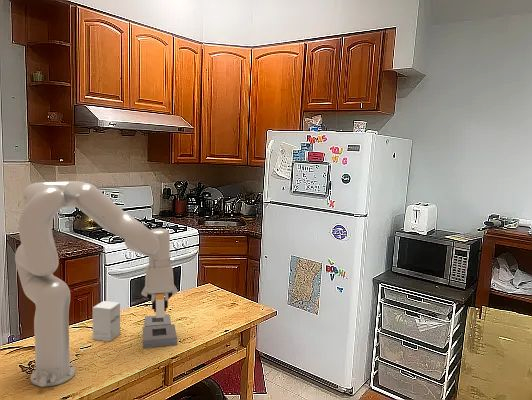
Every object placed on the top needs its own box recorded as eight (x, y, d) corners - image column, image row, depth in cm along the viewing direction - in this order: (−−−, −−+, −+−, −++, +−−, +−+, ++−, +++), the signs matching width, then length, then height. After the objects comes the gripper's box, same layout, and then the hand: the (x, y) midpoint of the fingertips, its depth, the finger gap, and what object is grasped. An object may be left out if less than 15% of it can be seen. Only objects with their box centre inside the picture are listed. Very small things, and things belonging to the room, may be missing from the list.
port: (176, 345, 159) (176, 337, 159) (142, 348, 156) (142, 340, 155) (174, 331, 170) (174, 324, 170) (142, 334, 167) (142, 326, 167)
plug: (164, 317, 161) (164, 293, 159) (156, 318, 160) (155, 294, 159) (163, 313, 164) (163, 290, 163) (155, 313, 164) (155, 290, 162)
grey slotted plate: (171, 328, 173) (171, 323, 173) (145, 330, 170) (145, 326, 170) (169, 318, 183) (169, 314, 182) (144, 320, 180) (144, 316, 179)
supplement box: (110, 341, 160) (109, 309, 159) (92, 339, 162) (91, 306, 160) (121, 333, 167) (120, 302, 166) (103, 331, 169) (103, 300, 167)
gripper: (181, 258, 165) (181, 304, 168) (136, 261, 161) (137, 308, 163) (182, 264, 158) (183, 312, 161) (136, 266, 154) (137, 316, 156)
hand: (159, 309), depth 162 cm, fingers closed on plug, 3 cm apart
